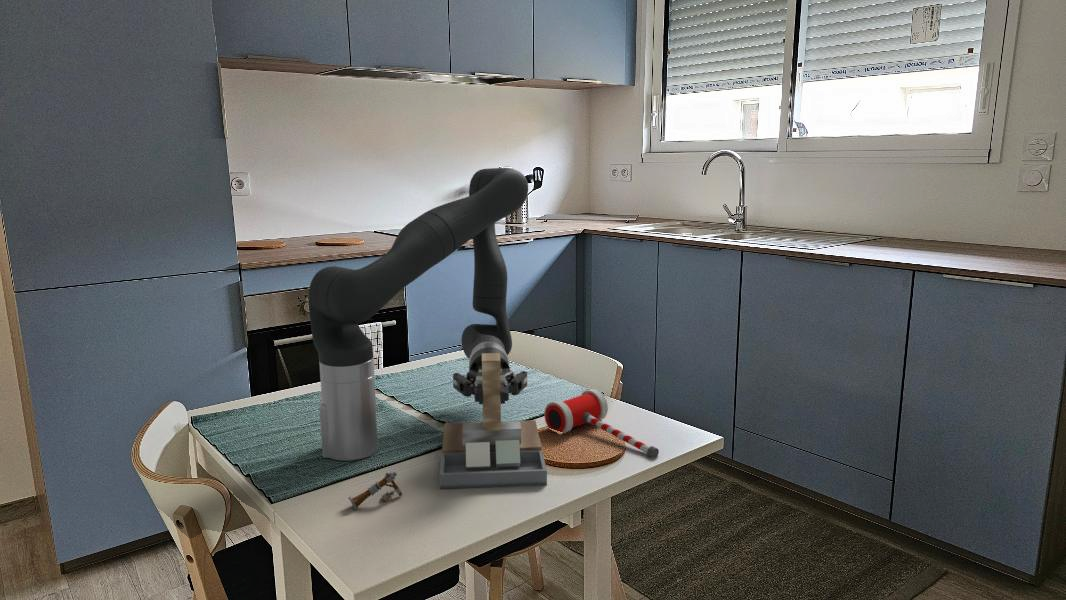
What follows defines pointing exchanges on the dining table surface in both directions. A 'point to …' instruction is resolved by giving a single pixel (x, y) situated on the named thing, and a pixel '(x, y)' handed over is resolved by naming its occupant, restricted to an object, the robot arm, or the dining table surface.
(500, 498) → the dining table surface
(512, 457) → the tile
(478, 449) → the tile
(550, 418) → the toy hammer
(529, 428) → the board
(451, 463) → the tray
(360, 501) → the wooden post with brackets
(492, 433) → the scraper
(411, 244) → the robot arm
